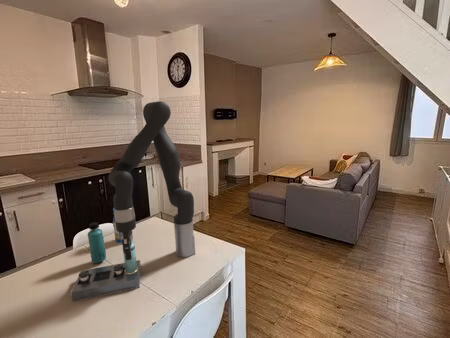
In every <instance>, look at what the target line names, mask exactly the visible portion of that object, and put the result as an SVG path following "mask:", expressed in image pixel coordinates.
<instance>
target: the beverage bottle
mask: <svg viewBox="0 0 450 338" xmlns="http://www.w3.org/2000/svg"><path fill="white" fill-rule="evenodd" d="M99 227H100V225H99V222H91V223H90V224H88V229H89V231H88V233H87V238H88V245H89V254H90V257H91V258H90V259H91V262H92V263H93V264H94V263H95V264H97V263H100V262H101V263H102V262H104V260H106V259H107V254H106V253H107V252H106V246H105V240H104V239H105V238H104V235H103V230H102V229H100V228H99Z"/></svg>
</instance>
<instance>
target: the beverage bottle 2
mask: <svg viewBox="0 0 450 338" xmlns="http://www.w3.org/2000/svg"><path fill="white" fill-rule="evenodd" d="M114 212H115V210H114V207H113V208H112V214H113V215H114ZM112 227H113V231H114V239H115V243H116V244H119V245H122V238H121V235H122V232H118V231H117V230H116V223H115V215H114V216H113V218H112Z"/></svg>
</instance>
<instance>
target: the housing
mask: <svg viewBox="0 0 450 338" xmlns="http://www.w3.org/2000/svg"><path fill="white" fill-rule="evenodd" d="M136 263H137V270H136V271H135V272H133V273H126V271H125V262H122V263H121V262H120V263H117V264H111V265H106V266H100V267H95V268H88V269H84V270H81V271H80V272H82V271H89V275H88V277H89V282H88V283H85V284H81V280H80V278H79V275H77V279H75V280H76V281H75V283H74V285H73V287H72V289H71V291H70V295H71V299H72V300H71V302H76V301H83V300H87V299H90V298H96V297H100V296H105V295H110V294H115V293H120V292H125V291H128V290H133V289H138V288H139V289H140V286H141V285H140V283H141V271H142V270H141V269H142V268H141V259H139V260H137V259H136ZM119 264H122V265H123V276H120V277H116V273H115V271H114V267H115V266H116V265H119Z"/></svg>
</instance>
